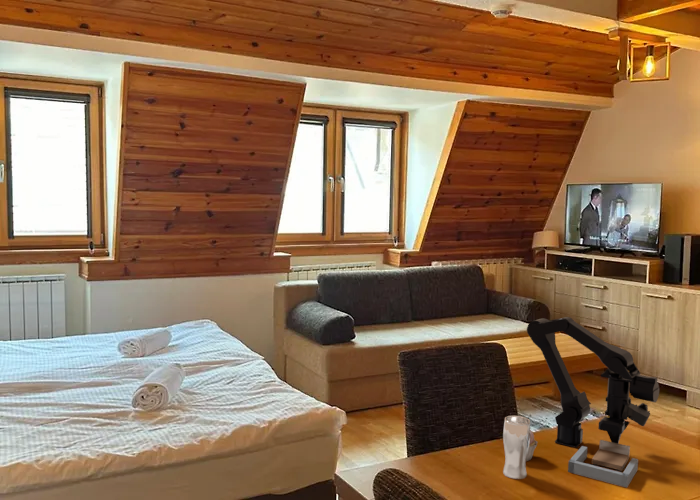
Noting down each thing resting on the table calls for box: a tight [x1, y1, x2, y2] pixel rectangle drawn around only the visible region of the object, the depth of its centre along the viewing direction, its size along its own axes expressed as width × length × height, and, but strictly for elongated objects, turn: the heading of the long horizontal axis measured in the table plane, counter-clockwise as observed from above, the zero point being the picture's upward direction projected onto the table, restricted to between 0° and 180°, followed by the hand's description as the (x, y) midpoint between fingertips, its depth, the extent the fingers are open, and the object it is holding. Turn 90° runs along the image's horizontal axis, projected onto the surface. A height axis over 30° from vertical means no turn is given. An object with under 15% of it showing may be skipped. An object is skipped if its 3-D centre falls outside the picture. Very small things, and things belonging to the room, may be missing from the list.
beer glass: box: [502, 415, 531, 480], centre depth 167 cm, size 7×7×15 cm
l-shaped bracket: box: [591, 439, 631, 472], centre depth 177 cm, size 8×10×4 cm
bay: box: [567, 445, 639, 488], centre depth 171 cm, size 15×14×3 cm
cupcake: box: [526, 429, 538, 462], centre depth 179 cm, size 9×9×10 cm
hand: (615, 446), depth 182 cm, fingers closed
